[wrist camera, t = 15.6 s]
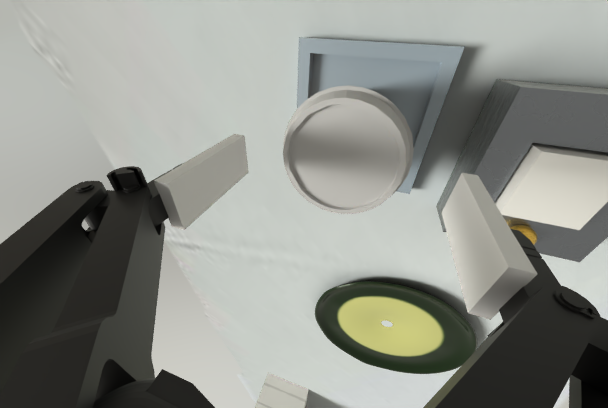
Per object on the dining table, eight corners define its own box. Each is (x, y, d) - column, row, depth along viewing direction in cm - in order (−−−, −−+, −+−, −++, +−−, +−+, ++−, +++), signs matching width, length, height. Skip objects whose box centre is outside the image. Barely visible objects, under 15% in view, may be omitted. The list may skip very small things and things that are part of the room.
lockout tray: (303, 37, 23) (299, 37, 22) (460, 46, 20) (464, 46, 19) (298, 166, 32) (295, 171, 30) (408, 187, 28) (409, 193, 27)
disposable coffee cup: (426, 120, 24) (448, 170, 14) (356, 175, 29) (338, 236, 20) (363, 47, 22) (341, 48, 12) (302, 120, 28) (254, 158, 18)
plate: (438, 376, 50) (440, 390, 48) (314, 334, 56) (311, 344, 54) (508, 302, 34) (515, 317, 32) (322, 254, 40) (319, 265, 38)
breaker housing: (496, 79, 20) (532, 90, 15) (672, 93, 18) (790, 113, 13) (435, 208, 29) (444, 245, 24) (548, 232, 26) (588, 278, 21)
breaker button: (512, 130, 22) (541, 151, 17) (590, 140, 20) (643, 165, 16) (480, 185, 25) (498, 214, 21) (545, 196, 24) (579, 230, 19)
